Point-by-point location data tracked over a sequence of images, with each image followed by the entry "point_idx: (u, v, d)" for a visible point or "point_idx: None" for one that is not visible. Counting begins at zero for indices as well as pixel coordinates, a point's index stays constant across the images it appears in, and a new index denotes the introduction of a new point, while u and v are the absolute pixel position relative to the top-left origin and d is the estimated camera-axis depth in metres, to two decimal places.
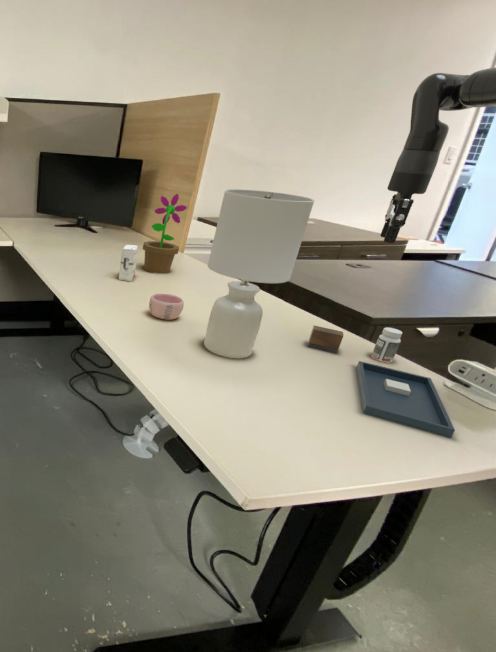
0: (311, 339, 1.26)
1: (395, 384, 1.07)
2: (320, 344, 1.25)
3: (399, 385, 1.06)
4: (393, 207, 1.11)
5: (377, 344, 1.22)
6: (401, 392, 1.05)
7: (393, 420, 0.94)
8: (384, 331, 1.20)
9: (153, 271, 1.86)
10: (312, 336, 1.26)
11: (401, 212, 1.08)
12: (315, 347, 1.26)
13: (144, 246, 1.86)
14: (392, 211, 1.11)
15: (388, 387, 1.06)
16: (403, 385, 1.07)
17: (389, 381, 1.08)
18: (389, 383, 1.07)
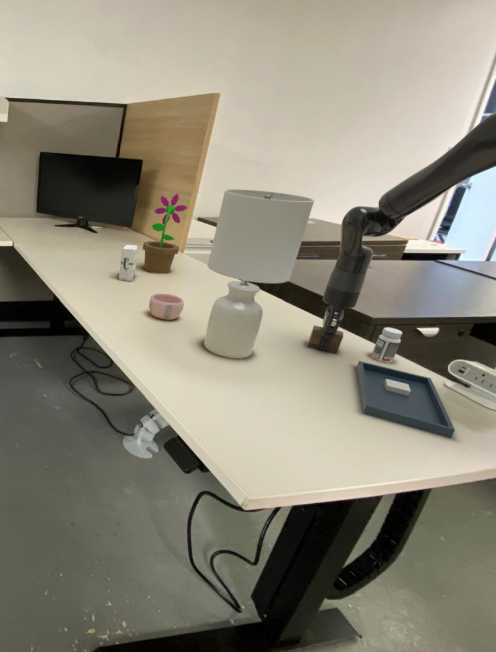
0: (311, 339, 1.26)
1: (395, 384, 1.07)
2: None
3: (399, 385, 1.06)
4: (326, 319, 1.22)
5: (377, 344, 1.22)
6: (401, 392, 1.05)
7: (393, 420, 0.94)
8: (384, 331, 1.20)
9: (153, 271, 1.86)
10: (312, 336, 1.26)
11: (330, 329, 1.20)
12: (315, 347, 1.26)
13: (144, 246, 1.86)
14: (325, 323, 1.23)
15: (388, 387, 1.06)
16: (403, 385, 1.07)
17: (389, 381, 1.08)
18: (389, 383, 1.07)
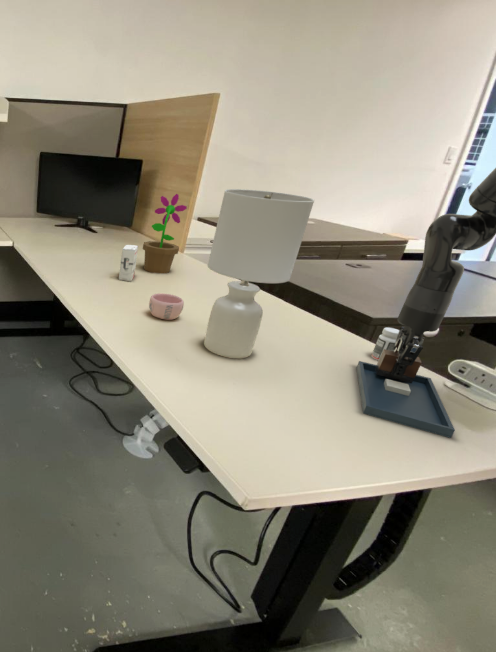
0: (382, 365, 1.10)
1: (395, 384, 1.07)
2: None
3: (399, 385, 1.06)
4: (402, 343, 1.06)
5: (377, 344, 1.22)
6: (401, 392, 1.05)
7: (393, 420, 0.94)
8: (384, 331, 1.20)
9: (153, 271, 1.86)
10: (383, 362, 1.10)
11: (409, 356, 1.03)
12: (386, 374, 1.10)
13: (144, 246, 1.86)
14: (400, 348, 1.06)
15: (388, 387, 1.06)
16: (403, 385, 1.07)
17: (389, 381, 1.08)
18: (389, 383, 1.07)
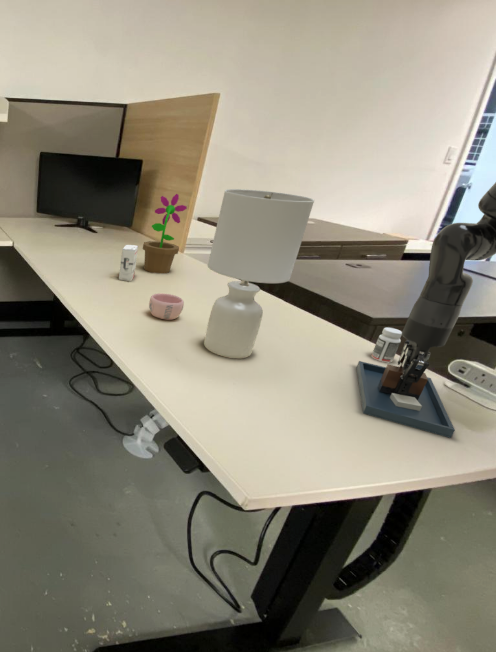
0: (385, 382, 1.04)
1: (403, 398, 1.01)
2: None
3: (408, 399, 1.00)
4: (407, 359, 1.00)
5: (377, 344, 1.22)
6: (412, 407, 0.99)
7: (393, 420, 0.94)
8: (384, 331, 1.20)
9: (153, 271, 1.86)
10: (387, 378, 1.03)
11: (414, 373, 0.97)
12: (390, 391, 1.04)
13: (144, 246, 1.86)
14: (405, 363, 1.00)
15: (399, 403, 0.99)
16: (411, 398, 1.01)
17: (396, 396, 1.01)
18: (398, 398, 1.00)
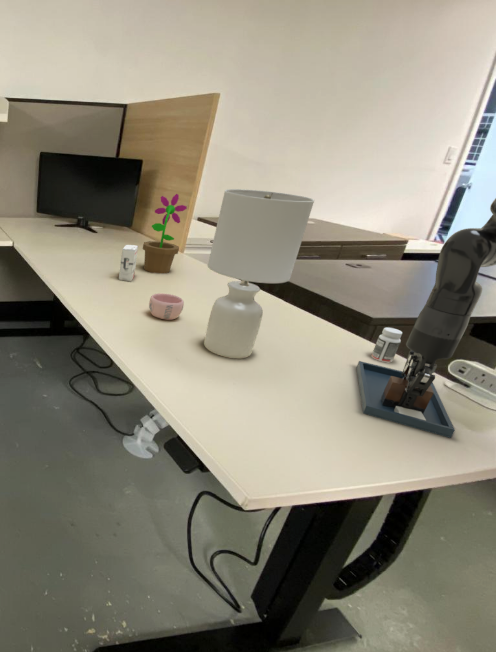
0: (389, 394, 0.98)
1: (407, 412, 0.95)
2: None
3: (412, 413, 0.95)
4: (411, 371, 0.95)
5: (377, 344, 1.22)
6: None
7: (393, 420, 0.94)
8: (384, 331, 1.20)
9: (153, 271, 1.86)
10: (390, 391, 0.98)
11: (419, 386, 0.92)
12: (394, 404, 0.99)
13: (144, 246, 1.86)
14: (409, 376, 0.95)
15: None
16: (416, 413, 0.95)
17: (401, 409, 0.96)
18: (401, 412, 0.95)
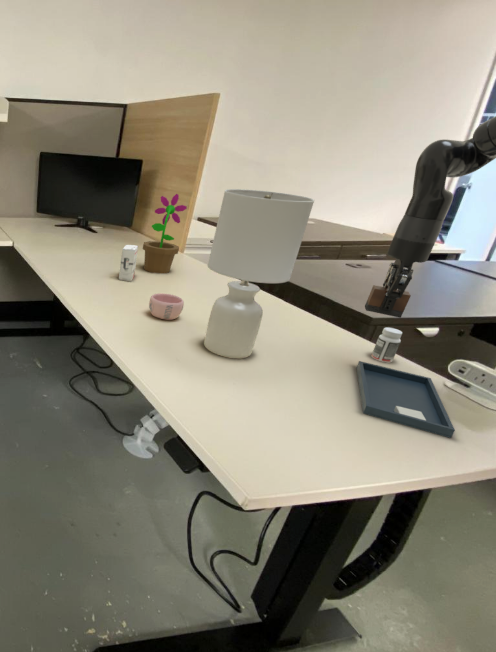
0: (371, 300, 1.10)
1: (407, 412, 0.95)
2: None
3: (412, 413, 0.95)
4: (391, 276, 1.06)
5: (377, 344, 1.22)
6: None
7: (393, 420, 0.94)
8: (384, 331, 1.20)
9: (153, 271, 1.86)
10: (373, 297, 1.10)
11: (398, 287, 1.03)
12: (375, 310, 1.10)
13: (144, 246, 1.86)
14: (390, 281, 1.06)
15: None
16: (416, 413, 0.95)
17: (401, 409, 0.96)
18: (401, 412, 0.95)
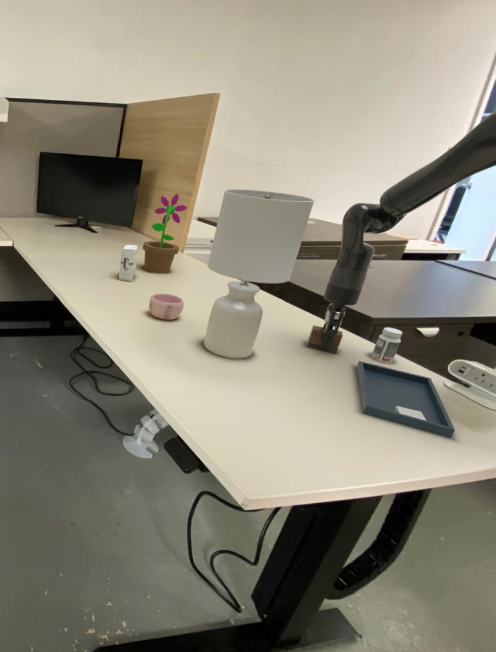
0: (310, 339, 1.26)
1: (407, 412, 0.95)
2: (319, 344, 1.25)
3: (412, 413, 0.95)
4: (328, 315, 1.21)
5: (377, 344, 1.22)
6: None
7: (393, 420, 0.94)
8: (384, 331, 1.20)
9: (153, 271, 1.86)
10: (311, 336, 1.26)
11: (333, 323, 1.18)
12: (314, 347, 1.26)
13: (144, 246, 1.86)
14: (327, 319, 1.21)
15: None
16: (416, 413, 0.95)
17: (401, 409, 0.96)
18: (401, 412, 0.95)
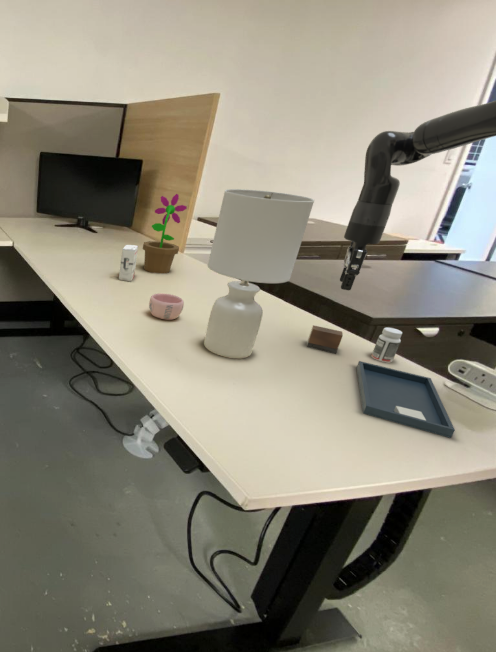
0: (310, 339, 1.26)
1: (407, 412, 0.95)
2: (319, 344, 1.25)
3: (412, 413, 0.95)
4: (349, 256, 1.15)
5: (377, 344, 1.22)
6: None
7: (393, 420, 0.94)
8: (384, 331, 1.20)
9: (153, 271, 1.86)
10: (311, 336, 1.26)
11: (355, 262, 1.11)
12: (314, 347, 1.26)
13: (144, 246, 1.86)
14: (348, 260, 1.15)
15: None
16: (416, 413, 0.95)
17: (401, 409, 0.96)
18: (401, 412, 0.95)
